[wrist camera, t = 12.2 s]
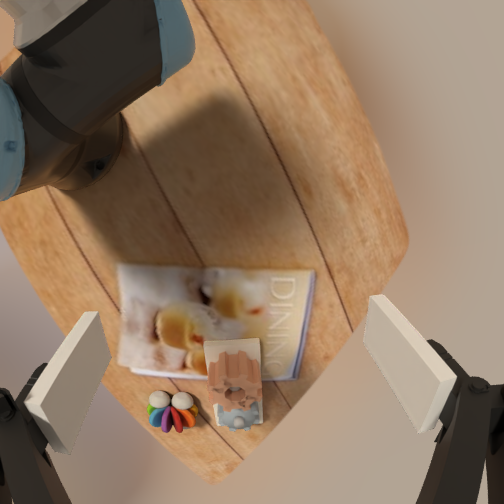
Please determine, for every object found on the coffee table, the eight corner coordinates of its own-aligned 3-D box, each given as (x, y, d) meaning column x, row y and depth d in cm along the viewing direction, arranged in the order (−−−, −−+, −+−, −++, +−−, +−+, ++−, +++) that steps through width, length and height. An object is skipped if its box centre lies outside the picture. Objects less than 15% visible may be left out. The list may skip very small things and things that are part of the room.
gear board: (217, 420, 58) (216, 443, 52) (203, 341, 51) (201, 363, 45) (262, 417, 58) (265, 439, 52) (258, 337, 52) (262, 359, 46)
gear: (212, 389, 53) (211, 413, 47) (206, 352, 50) (204, 375, 44) (260, 386, 53) (263, 409, 48) (258, 348, 51) (261, 372, 45)
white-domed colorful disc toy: (199, 418, 57) (198, 445, 50) (152, 415, 57) (146, 441, 50) (197, 389, 55) (194, 417, 48) (146, 385, 54) (138, 412, 47)
